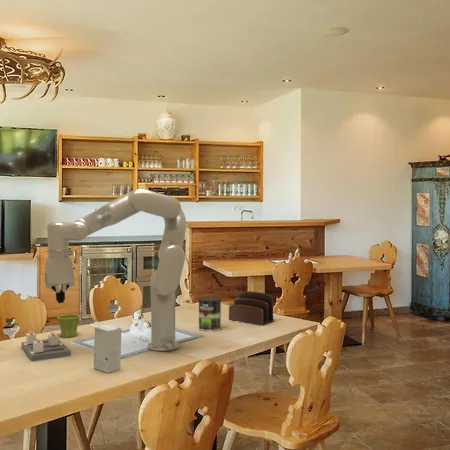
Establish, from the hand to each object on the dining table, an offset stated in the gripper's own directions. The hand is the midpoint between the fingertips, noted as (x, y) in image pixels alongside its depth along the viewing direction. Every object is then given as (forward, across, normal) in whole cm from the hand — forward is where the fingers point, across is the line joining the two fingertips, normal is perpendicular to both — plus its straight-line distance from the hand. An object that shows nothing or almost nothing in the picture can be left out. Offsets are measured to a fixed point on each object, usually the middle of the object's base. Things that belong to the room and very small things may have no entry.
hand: (60, 302), depth 202 cm
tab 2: (+17, +9, 0) cm, 19 cm away
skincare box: (+21, -9, +27) cm, 35 cm away
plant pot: (+20, -9, -27) cm, 35 cm away
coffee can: (+22, -68, -7) cm, 72 cm away
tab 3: (+17, +2, -7) cm, 19 cm away
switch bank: (+20, +5, -7) cm, 22 cm away
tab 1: (+17, +9, -14) cm, 24 cm away
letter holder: (+22, -93, -11) cm, 96 cm away
